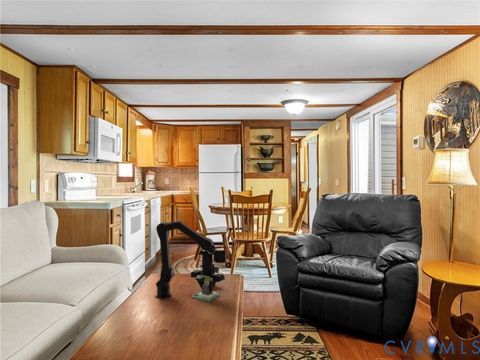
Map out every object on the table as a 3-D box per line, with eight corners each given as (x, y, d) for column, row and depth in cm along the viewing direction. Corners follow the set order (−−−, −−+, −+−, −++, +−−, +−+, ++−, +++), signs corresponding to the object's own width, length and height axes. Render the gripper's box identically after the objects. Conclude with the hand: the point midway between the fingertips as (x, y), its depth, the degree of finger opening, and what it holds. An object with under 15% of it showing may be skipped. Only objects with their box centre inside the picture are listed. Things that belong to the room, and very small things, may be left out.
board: (208, 301, 180) (208, 297, 180) (191, 297, 185) (191, 293, 185) (219, 295, 188) (219, 291, 188) (203, 292, 194) (203, 288, 194)
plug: (208, 296, 184) (208, 284, 184) (202, 295, 186) (202, 283, 186) (212, 294, 187) (212, 282, 187) (206, 293, 189) (206, 281, 189)
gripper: (230, 261, 188) (230, 290, 188) (202, 257, 198) (202, 285, 198) (218, 266, 179) (218, 296, 179) (189, 261, 188) (189, 290, 188)
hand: (207, 291), depth 186 cm, fingers open, 5 cm apart
